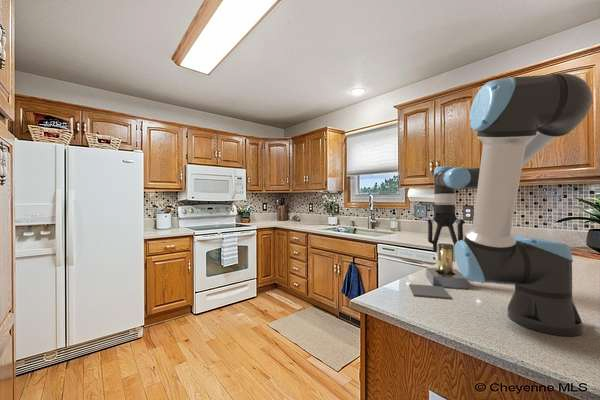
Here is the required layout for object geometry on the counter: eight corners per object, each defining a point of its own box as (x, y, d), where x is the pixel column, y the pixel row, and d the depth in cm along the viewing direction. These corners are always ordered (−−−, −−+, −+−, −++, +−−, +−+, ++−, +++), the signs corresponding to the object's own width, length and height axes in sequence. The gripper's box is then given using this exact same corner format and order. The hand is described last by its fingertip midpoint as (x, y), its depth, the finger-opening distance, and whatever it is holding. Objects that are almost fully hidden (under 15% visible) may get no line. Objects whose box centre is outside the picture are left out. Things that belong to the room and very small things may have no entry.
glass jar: (454, 276, 104) (454, 245, 104) (440, 275, 105) (439, 244, 106) (450, 273, 109) (450, 243, 109) (437, 272, 110) (436, 243, 111)
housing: (467, 288, 99) (467, 278, 100) (433, 286, 103) (433, 276, 103) (456, 278, 113) (456, 269, 113) (426, 276, 116) (426, 267, 116)
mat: (451, 299, 89) (451, 297, 89) (413, 296, 93) (413, 294, 93) (442, 287, 101) (442, 286, 101) (409, 285, 104) (409, 284, 104)
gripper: (466, 204, 109) (467, 259, 109) (419, 204, 114) (419, 257, 113) (473, 204, 102) (474, 263, 101) (422, 204, 107) (423, 261, 106)
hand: (445, 260), depth 107 cm, fingers closed on glass jar, 5 cm apart
